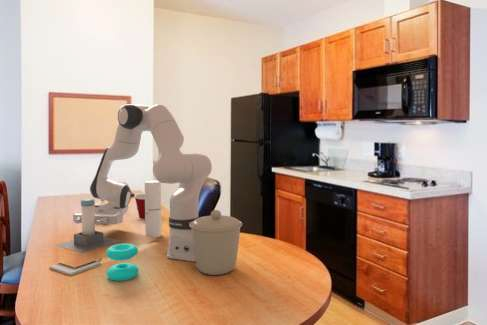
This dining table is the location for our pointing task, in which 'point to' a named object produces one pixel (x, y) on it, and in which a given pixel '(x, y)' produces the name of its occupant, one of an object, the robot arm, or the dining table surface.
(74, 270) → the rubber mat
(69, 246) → the grey square peg base
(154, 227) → the cylindrical container
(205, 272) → the canister
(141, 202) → the plastic cup
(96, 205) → the teacup with lid
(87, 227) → the cylinder
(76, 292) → the dining table surface
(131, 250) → the donuts
